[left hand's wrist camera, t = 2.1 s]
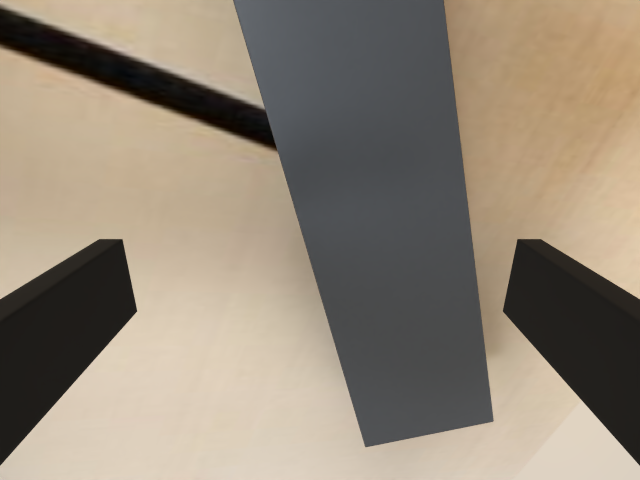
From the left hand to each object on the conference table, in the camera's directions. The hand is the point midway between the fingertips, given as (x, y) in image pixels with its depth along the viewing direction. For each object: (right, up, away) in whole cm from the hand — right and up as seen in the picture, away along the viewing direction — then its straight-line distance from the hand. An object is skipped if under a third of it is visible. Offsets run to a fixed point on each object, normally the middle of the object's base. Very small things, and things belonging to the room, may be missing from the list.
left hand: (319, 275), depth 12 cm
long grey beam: (0, +19, +10) cm, 22 cm away
